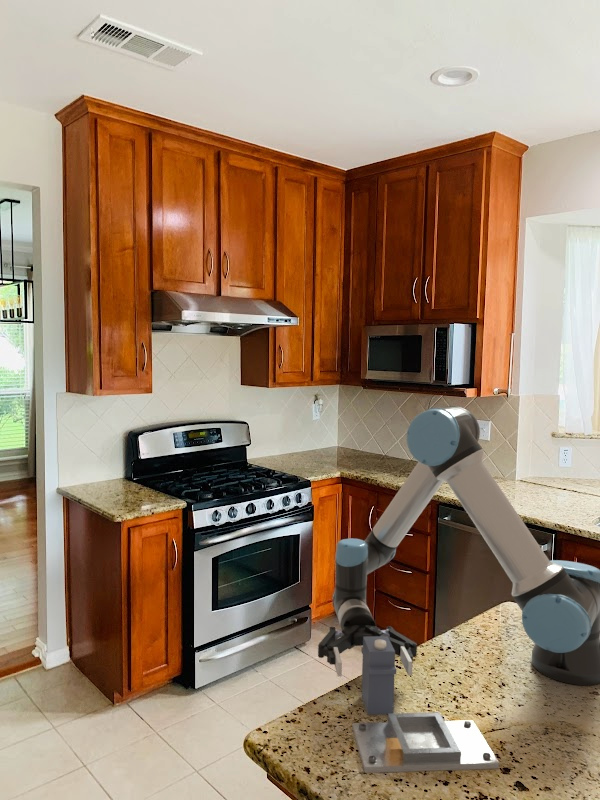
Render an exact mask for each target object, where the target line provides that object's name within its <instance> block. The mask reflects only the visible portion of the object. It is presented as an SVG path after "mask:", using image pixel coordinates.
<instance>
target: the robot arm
mask: <svg viewBox="0 0 600 800" xmlns="http://www.w3.org/2000/svg"><path fill="white" fill-rule="evenodd" d="M406 432H407V433H406V444H407V449H408V451H409V453H410V454H411V456H412V457H413V459H415V460H416V461H417V463H416V465H415V466H414V468H413V469H412V471H411V472H410V474H409V475H408V476H407V478H406V479H405V481H404V483H403V484H402V485H401V487H400V488H399V489H398V491H397V492H396V494H395V496H394V497H393V498H392V500H391V501H390V503H389V505H388V506H387V507H386V508H385V510H384V512H383V513H382V515H381V516H380V517H379V518H378V520H377V521H376V524H375V525H374V526H373V528H372V530H371V531H370V532H369V534H368V535H367V537H366V538H365V539H364V540H363V539H360V538H344V539H343V538H342V539H341V540H339V541H338V542H337V544H336V550H335V551H336V552H335V556H334V559H335V569H334V570H335V571H334V573H335V575H334V576H335V577H334V578H335V580H334V581H335V582H334V583H335V585H334V586H335V587H334V592H333V595H332V606H333V609H334V612H335V613H336V617H337V620H338V622H339V626H340V629H341V630H338V629H336V627H335V626H330V627H329V632H327V634H326V635H325V636H324V637H323V638H322V639H321V641H320V642H319V643H318V645H317V647H318V648H317V657H318V658H320V659H322V658H324V657H327V658H326V661H327V663H329V665H330V666H331V665H334V668H335V672H336V675H337V677H342V675H343V674H342V673H343V667H342V666H343V661H342V659H341V654H342V653H344V652H345V651H347V650H351V649H353V648H354V647H363V637H370V636H388V638H389V640H390V642H391V644H392V646H393V648H394V650H395V656H399V657H400V658H399V659H400V662H401V665H402V666H403V668H404V670H405V672H406V674H407V676H412V675H413V663H414V658H417V656H418V655H417V653H418V652H417V651H418V644H417V642H415V641H414V640H411V639H410V638H408V637H406V636H405V635H403V634H402V633H400V632H398V631H396V630H395V629H394V628H393V626H386V629H382V630H381V629H380V628H379V627H377V623H376V621H375V619H374V617H373V615H372V612H371V611H370V609H369V606H368V604H367V581H368V575H369V574H371V573H372V572H374V571H375V570H377V569H379V568H381V567H383V566H385V565H387V564H388V563H390V561H391V560H393V559H394V557H395V555H396V552H397V548H398V546H399V545H400V544H401V542H402V540H403V539H404V538H405V536H406V535H407V534H408V532H409V531H410V530H411V528H412V527H413V525H414V523H416V521H417V520H418V518H419V516H420V515H421V514H422V513H423V511H424V510H425V509H426V507H427V506H428V504H429V503H430V502H431V500H432V499H433V498H434V496H435V494H436V493H437V492H438V490H439V489H440V488H441V486H442V485H443V483H445V482H446V483H447V484H448V486H449V487H450V488H451V491H453V493H454V495H455V496H456V498H457V499H458V501H459V503H460V504H461V506H462V508H463V509H464V511H465V512H466V514H468V517H469V518H470V520H471V521H472V522H473V524H474V526H475V528H476V529H477V531H478V532H479V533H480V535H481V536H482V538H483V539H484V542H486V544H487V545H488V547H489V549H490V550H491V552H492V553H493V555H494V556H495V558H496V559H497V561H498V563H499V564H500V565H501V567H502V569H503V571H504V572H505V574H506V575H507V577H508V578H509V580H510V581H511V582H512V589H511V597H512V598H513V599H514V601H515V603H516V604H517V606H518V607H519V609H520V611H521V612H522V614H521V621H522V627H523V630H524V632H525V633H526V635H527V636H528V638H529V639H530V640H531V641H532V642H533V643H534V645H533V648H532V651H531V665H532V666H533V667H534V668H535V670H537V671H538V672H539V673H540V674H542V675H544V676H546V677H548V678H550V679H552V680H555V681H558V682H561V683H565V684H570V685H577V686H593V685H600V569H599V568H597V567H595V566H593V565H589V564H586V563H582V562H576V561H571V560H570V561H569V560H561V559H560V560H558V559H556V560H555V559H553V560H550V559H549V557H548V556H547V554H545V552H544V551H543V549H542V548H541V546H540V545H539V542H537V540H536V539H535V537H534V536H533V535H532V532H531V531H530V530H529V528H528V527H527V525H526V523H524V521H523V520H522V518H521V517H520V515H519V513H518V512H517V511H516V509H515V507H514V506H513V505H512V503H511V502H510V500H509V499H508V498H507V496H506V494H505V493H504V492H503V490H502V489H501V487H500V486H499V484H498V483H497V481H496V480H495V478H494V477H493V475H492V473H491V472H490V471H489V470H488V468H487V466H486V465H485V463H484V462H483V455H484V449H483V448H482V447H483V446H481V445H480V443H479V439H480V437H481V435H480V434H481V429H480V425H479V422H478V419H477V418H476V416H475V415H474V414H473V413H472V412H470V410H468V409H465V408H464V407H461V406H457V405H456V406H455V405H451V406H445V407H432V408H429V409H427V410H424V411H422V412H420V413H418V414H417V415H416V416H415V417H414V418H412V420H411V421H410V424H409V425H408V428H407V431H406Z"/></svg>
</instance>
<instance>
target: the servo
mask: <svg viewBox="0 0 600 800" xmlns="http://www.w3.org/2000/svg"><path fill="white" fill-rule="evenodd" d="M360 651H361V654H362V664H361V666H362V668H361V669H362V670H361V674H362V675H361V698H362V702H363V705H364V708H365V711H366V714H367V715H368V716H369V715H370V716H373V715H375V716H376V715H377V716H378V715H388V714H391V713H394V701H395V700H394V699H395V698H394V695H395V675H397V668H396V666H395V665H396V663H395V662H396V654H395V650H394V648H393V646H392V644H391V642H390V640H389V638H388V636H370V637H363V645H362V646H361V650H360Z"/></svg>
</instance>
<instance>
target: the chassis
mask: <svg viewBox="0 0 600 800" xmlns="http://www.w3.org/2000/svg"><path fill="white" fill-rule="evenodd" d="M351 728H352V733H353V736H354V740H355V742H356V743H355V744H356V747H357V751H358V754H359V757H360V758H359V759H360V760H361V764H362V765H361V766H362V767H363V768H362V769H363V771H364V774H371V773H372V774H373V773H379V774H380V773H403V772H404V773H405V772H432V771H433V772H435V771H438V772H439V771H466V770H471V771H472V770H494V769H495V770H496V769H497V770H498V769H500V761H499V760H498V758H497V757H496V755H495V754H494V752H493V751H492V748H491V747H490V745H489V743H488V742H487V741H486V739H485V738H484V736H483V734H482V732H481V731H480V729H479V728H478V726H477V725H476V723H475V721H474V720H473V719H471V720H470V719H466V720H465V719H464V720H462V719H461V720H460V719H459V720H445V719H444V718H443V716H442V714H441V712H440V711H438V712H436V711H434V712H402V713H401V712H399V713H397V712H396V713H394V712H393V713H391V714H387V722H361V723H360V722H356V723H354V722H353V723H352V727H351Z"/></svg>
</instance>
